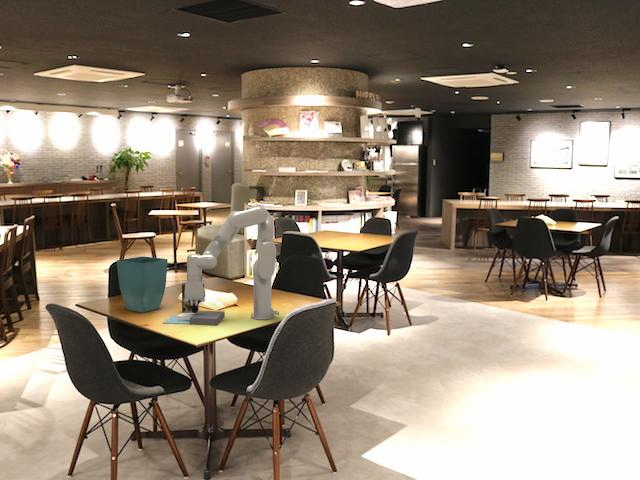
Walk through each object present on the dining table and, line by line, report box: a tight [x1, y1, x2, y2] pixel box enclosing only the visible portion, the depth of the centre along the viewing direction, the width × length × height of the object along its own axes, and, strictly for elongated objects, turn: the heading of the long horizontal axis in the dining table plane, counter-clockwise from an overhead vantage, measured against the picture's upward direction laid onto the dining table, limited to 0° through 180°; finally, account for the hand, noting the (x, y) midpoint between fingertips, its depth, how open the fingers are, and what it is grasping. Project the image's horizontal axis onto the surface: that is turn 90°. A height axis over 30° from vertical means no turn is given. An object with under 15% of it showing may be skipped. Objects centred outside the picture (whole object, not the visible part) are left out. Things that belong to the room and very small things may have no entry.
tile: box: [177, 312, 195, 321], centre depth 331 cm, size 8×7×2 cm
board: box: [189, 309, 226, 326], centre depth 329 cm, size 14×16×4 cm
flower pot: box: [116, 255, 169, 313], centre depth 351 cm, size 20×20×28 cm
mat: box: [162, 314, 191, 325], centre depth 331 cm, size 14×16×1 cm
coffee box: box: [181, 282, 200, 313], centre depth 346 cm, size 9×6×16 cm
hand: (194, 312), depth 330 cm, fingers closed
